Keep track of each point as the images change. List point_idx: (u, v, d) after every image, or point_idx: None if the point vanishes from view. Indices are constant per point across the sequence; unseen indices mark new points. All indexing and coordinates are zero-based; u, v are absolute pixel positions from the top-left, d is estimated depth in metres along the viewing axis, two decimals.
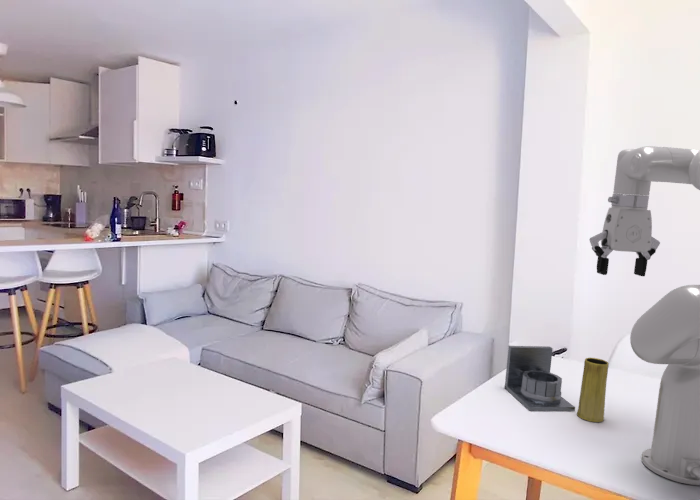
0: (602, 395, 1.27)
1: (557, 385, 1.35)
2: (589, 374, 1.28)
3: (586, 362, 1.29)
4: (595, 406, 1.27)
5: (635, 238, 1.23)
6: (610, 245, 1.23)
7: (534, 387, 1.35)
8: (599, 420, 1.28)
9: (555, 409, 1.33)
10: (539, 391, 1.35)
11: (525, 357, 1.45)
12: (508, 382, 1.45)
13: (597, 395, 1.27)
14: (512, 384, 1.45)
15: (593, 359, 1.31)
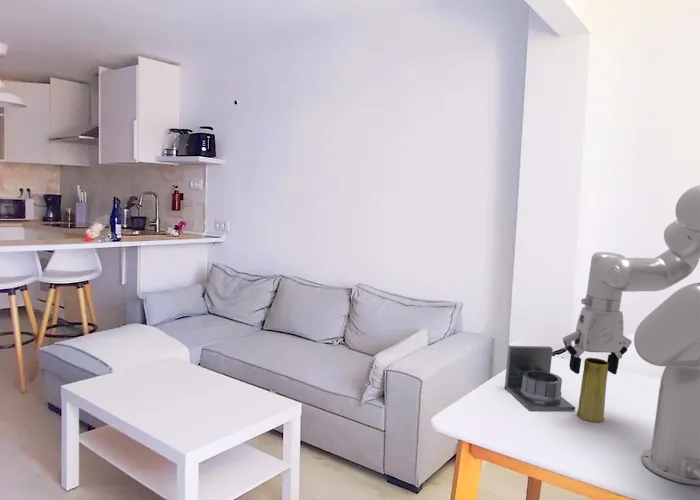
0: (602, 395, 1.27)
1: (557, 385, 1.35)
2: (589, 374, 1.28)
3: (586, 362, 1.29)
4: (595, 406, 1.27)
5: (607, 339, 1.26)
6: (582, 346, 1.26)
7: (534, 387, 1.35)
8: (599, 420, 1.28)
9: (555, 409, 1.33)
10: (539, 391, 1.35)
11: (525, 357, 1.45)
12: (508, 382, 1.45)
13: (597, 395, 1.27)
14: (512, 384, 1.45)
15: (593, 359, 1.31)
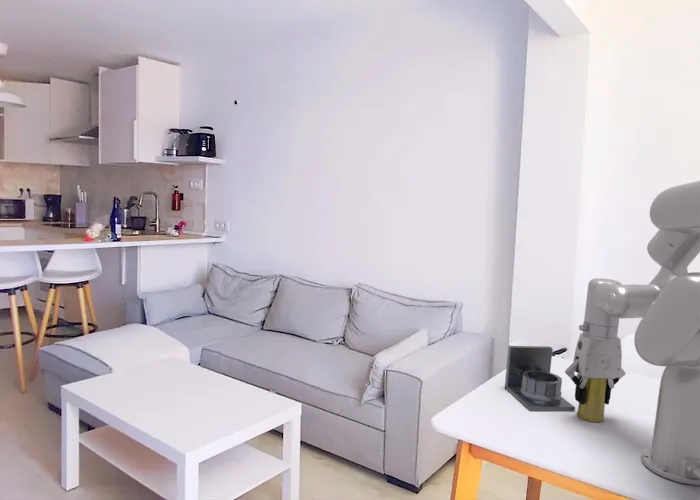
0: (602, 395, 1.27)
1: (557, 385, 1.35)
2: None
3: None
4: (595, 406, 1.28)
5: (605, 366, 1.26)
6: (581, 373, 1.26)
7: (534, 387, 1.35)
8: (599, 420, 1.28)
9: (555, 409, 1.33)
10: (539, 391, 1.35)
11: (525, 357, 1.45)
12: (508, 382, 1.45)
13: (597, 395, 1.27)
14: (512, 384, 1.45)
15: None
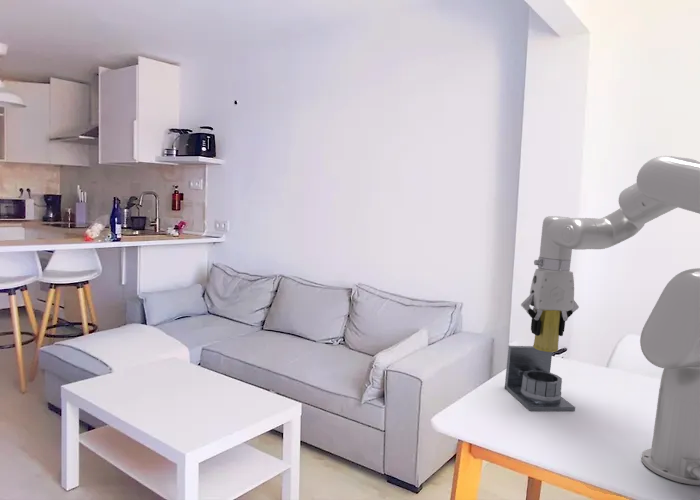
0: (556, 326, 1.34)
1: (557, 385, 1.35)
2: None
3: None
4: (549, 337, 1.35)
5: (559, 298, 1.33)
6: (535, 305, 1.33)
7: (534, 387, 1.35)
8: (553, 350, 1.35)
9: (555, 409, 1.33)
10: (539, 391, 1.35)
11: (525, 357, 1.45)
12: (508, 382, 1.45)
13: (551, 326, 1.34)
14: (512, 384, 1.45)
15: None
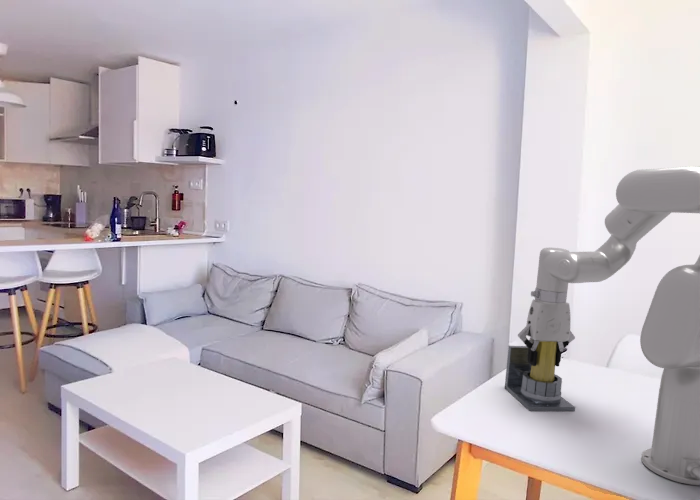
0: (552, 357, 1.36)
1: (557, 385, 1.35)
2: None
3: None
4: (545, 367, 1.36)
5: (555, 329, 1.34)
6: (532, 336, 1.34)
7: (534, 387, 1.35)
8: (549, 380, 1.36)
9: (555, 409, 1.33)
10: (539, 391, 1.35)
11: (525, 357, 1.45)
12: (508, 382, 1.45)
13: (547, 357, 1.35)
14: (512, 384, 1.45)
15: None
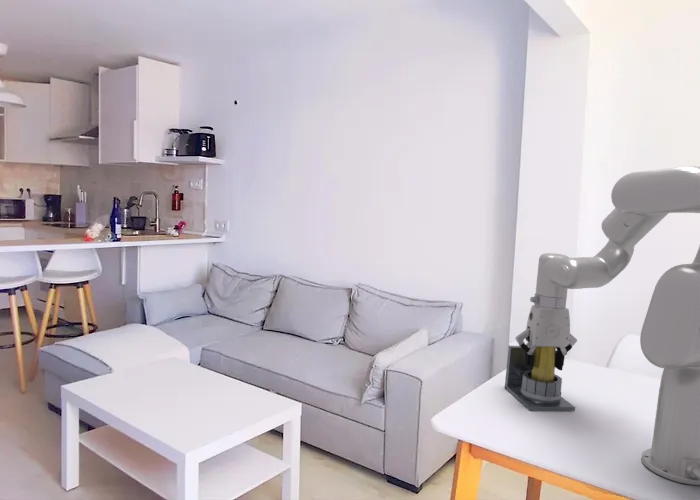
0: (551, 367, 1.36)
1: (557, 385, 1.35)
2: (538, 348, 1.36)
3: None
4: (545, 378, 1.36)
5: (554, 335, 1.35)
6: (532, 342, 1.35)
7: (534, 387, 1.35)
8: None
9: (555, 409, 1.33)
10: (539, 391, 1.35)
11: None
12: (508, 382, 1.45)
13: (546, 368, 1.36)
14: (512, 384, 1.45)
15: None
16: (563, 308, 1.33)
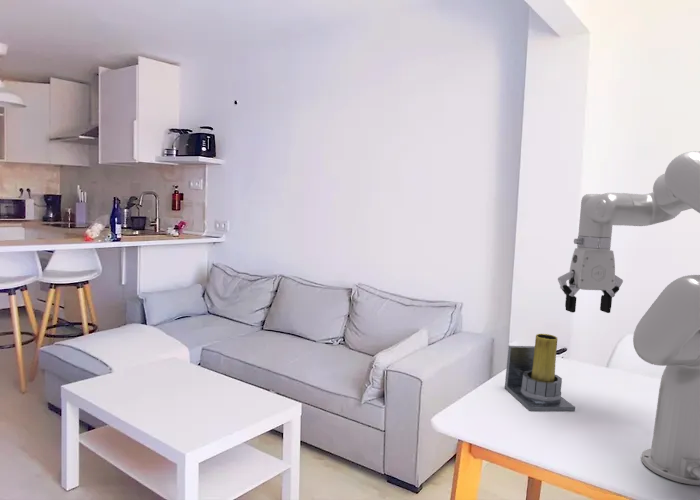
0: (552, 368, 1.36)
1: (557, 385, 1.35)
2: (539, 349, 1.36)
3: (537, 337, 1.37)
4: (545, 378, 1.36)
5: (600, 277, 1.31)
6: (577, 284, 1.30)
7: (534, 387, 1.35)
8: None
9: (555, 409, 1.33)
10: (539, 391, 1.35)
11: (525, 357, 1.45)
12: (508, 382, 1.45)
13: (547, 368, 1.35)
14: (512, 384, 1.45)
15: (544, 335, 1.40)
16: (608, 249, 1.30)
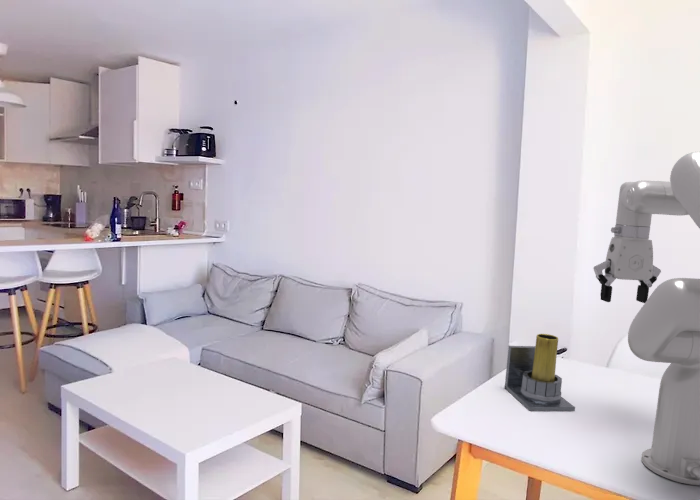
0: (552, 368, 1.36)
1: (557, 385, 1.35)
2: (540, 348, 1.36)
3: (537, 337, 1.37)
4: (545, 378, 1.36)
5: (637, 267, 1.28)
6: (613, 274, 1.29)
7: (534, 387, 1.35)
8: None
9: (555, 409, 1.33)
10: (539, 391, 1.35)
11: (525, 357, 1.45)
12: (508, 382, 1.45)
13: (547, 368, 1.36)
14: (512, 384, 1.45)
15: (545, 335, 1.40)
16: (647, 238, 1.27)
